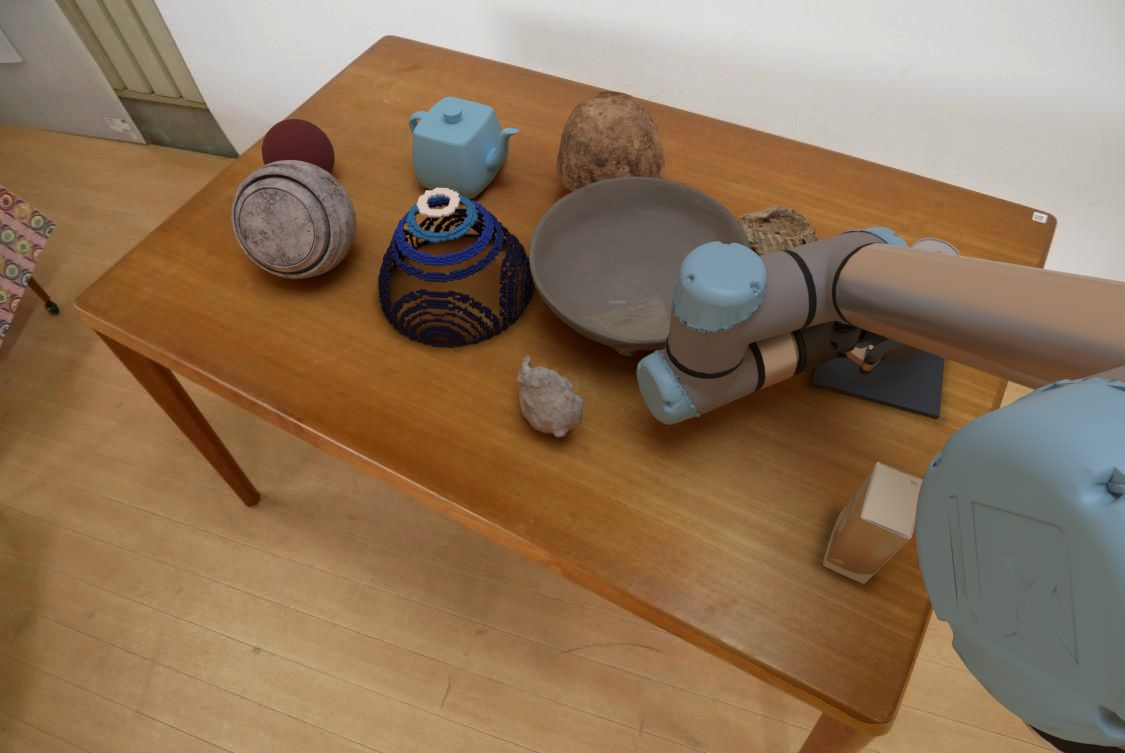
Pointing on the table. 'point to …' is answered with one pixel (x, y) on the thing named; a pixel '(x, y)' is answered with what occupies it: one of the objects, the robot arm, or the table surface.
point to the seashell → (776, 229)
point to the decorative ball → (298, 144)
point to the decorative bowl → (402, 246)
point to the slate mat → (889, 380)
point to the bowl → (623, 256)
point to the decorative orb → (293, 219)
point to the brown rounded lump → (609, 141)
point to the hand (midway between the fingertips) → (952, 274)
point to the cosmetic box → (874, 523)
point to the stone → (548, 399)
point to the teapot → (458, 146)
